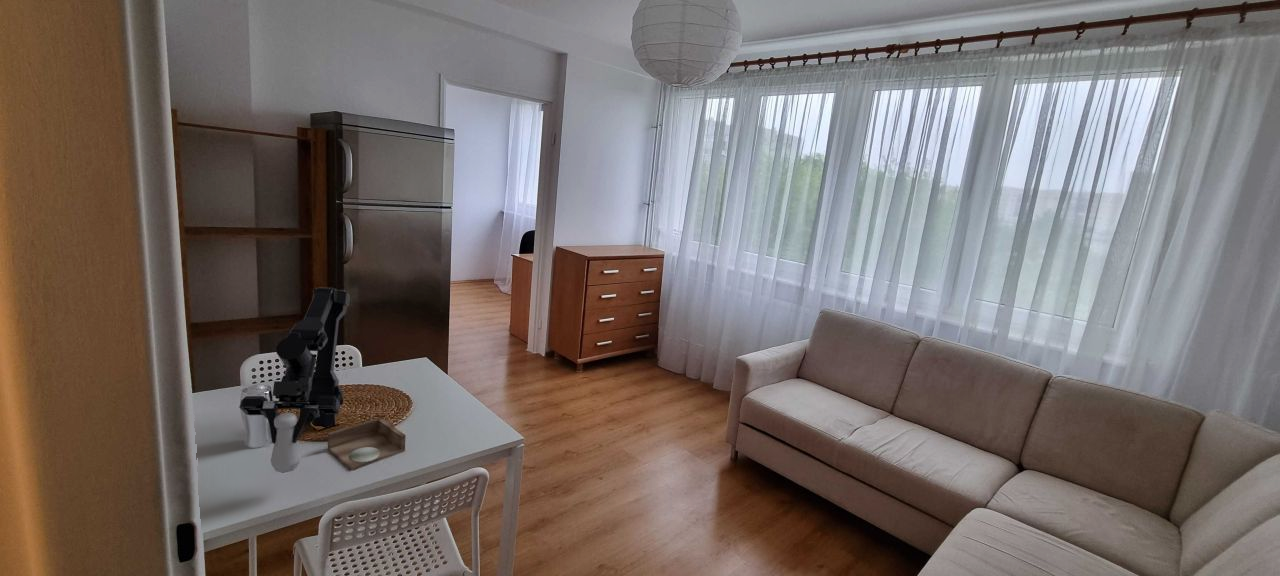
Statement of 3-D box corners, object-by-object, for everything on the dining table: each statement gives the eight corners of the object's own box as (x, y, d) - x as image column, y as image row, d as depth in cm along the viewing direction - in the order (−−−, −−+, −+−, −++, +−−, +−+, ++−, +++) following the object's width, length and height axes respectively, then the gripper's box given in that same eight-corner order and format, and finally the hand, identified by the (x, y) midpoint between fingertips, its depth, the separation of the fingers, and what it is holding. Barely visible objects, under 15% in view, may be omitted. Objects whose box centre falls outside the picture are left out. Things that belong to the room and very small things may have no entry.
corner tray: (327, 449, 138) (327, 432, 137) (380, 432, 150) (380, 417, 149) (351, 470, 131) (351, 453, 130) (404, 451, 142) (405, 435, 141)
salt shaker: (286, 477, 116) (285, 424, 113) (264, 471, 117) (262, 418, 114) (307, 464, 122) (307, 412, 119) (286, 458, 123) (285, 407, 120)
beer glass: (280, 440, 140) (279, 388, 136) (254, 452, 133) (252, 397, 130) (262, 433, 142) (260, 381, 138) (235, 444, 135) (232, 390, 132)
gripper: (241, 362, 115) (220, 434, 107) (337, 363, 120) (324, 431, 113) (256, 381, 124) (238, 448, 116) (345, 381, 130) (333, 445, 122)
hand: (283, 442), depth 116 cm, fingers closed on salt shaker, 3 cm apart
